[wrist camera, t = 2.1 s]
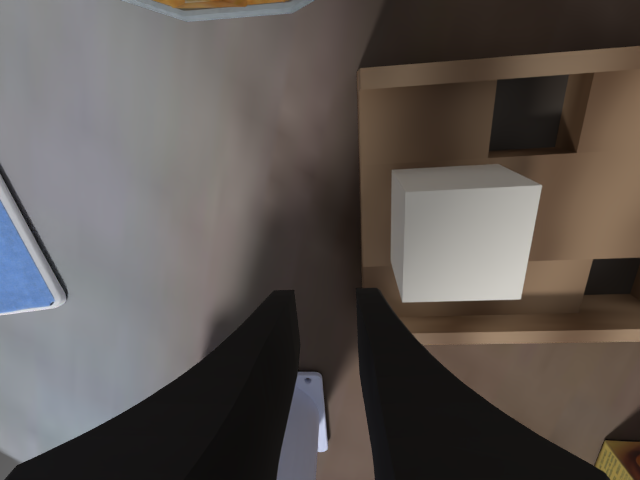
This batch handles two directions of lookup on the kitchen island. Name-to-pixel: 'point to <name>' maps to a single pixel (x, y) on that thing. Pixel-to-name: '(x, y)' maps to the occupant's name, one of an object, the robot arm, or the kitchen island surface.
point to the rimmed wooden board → (529, 161)
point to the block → (461, 232)
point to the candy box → (620, 460)
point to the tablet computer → (23, 264)
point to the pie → (220, 8)
